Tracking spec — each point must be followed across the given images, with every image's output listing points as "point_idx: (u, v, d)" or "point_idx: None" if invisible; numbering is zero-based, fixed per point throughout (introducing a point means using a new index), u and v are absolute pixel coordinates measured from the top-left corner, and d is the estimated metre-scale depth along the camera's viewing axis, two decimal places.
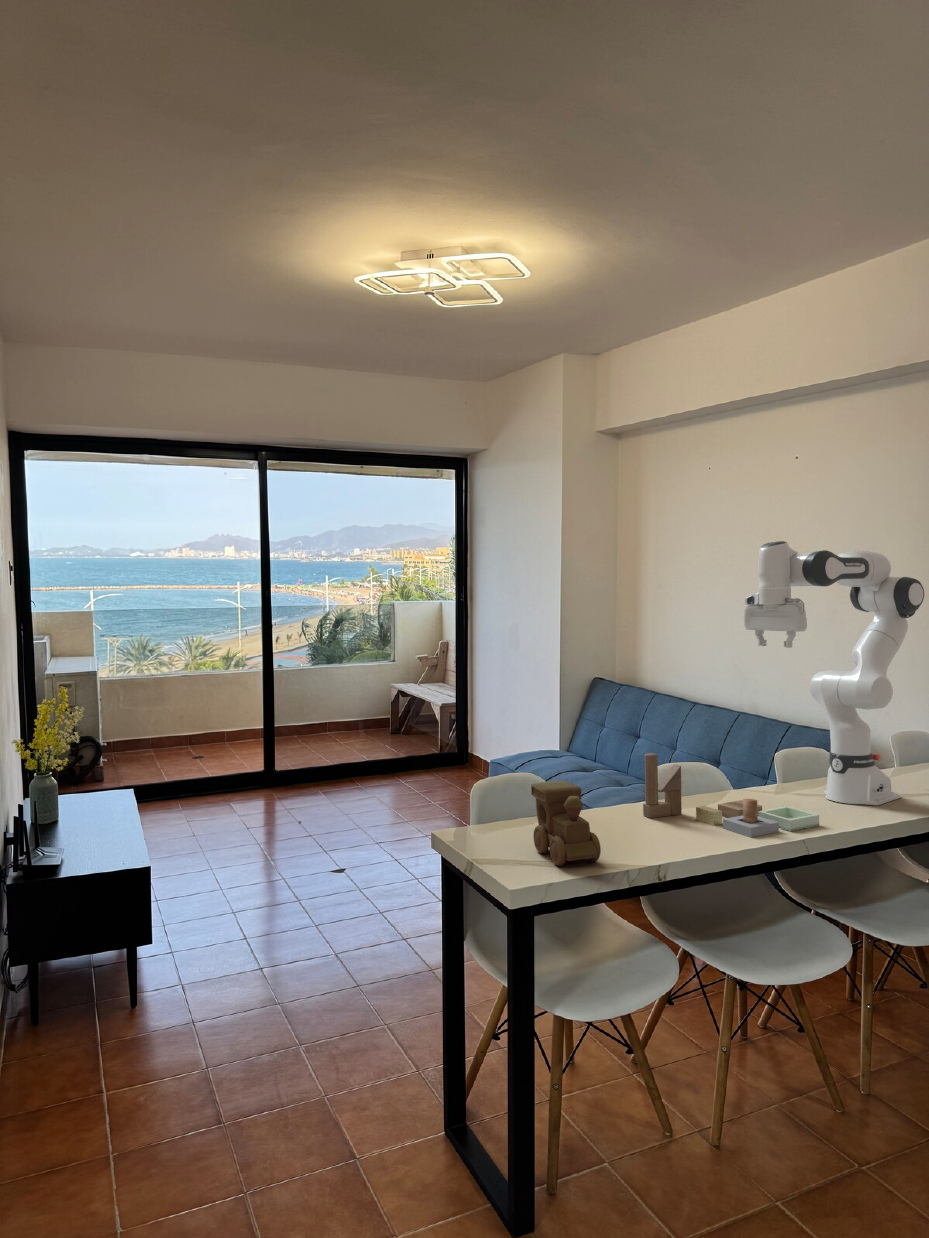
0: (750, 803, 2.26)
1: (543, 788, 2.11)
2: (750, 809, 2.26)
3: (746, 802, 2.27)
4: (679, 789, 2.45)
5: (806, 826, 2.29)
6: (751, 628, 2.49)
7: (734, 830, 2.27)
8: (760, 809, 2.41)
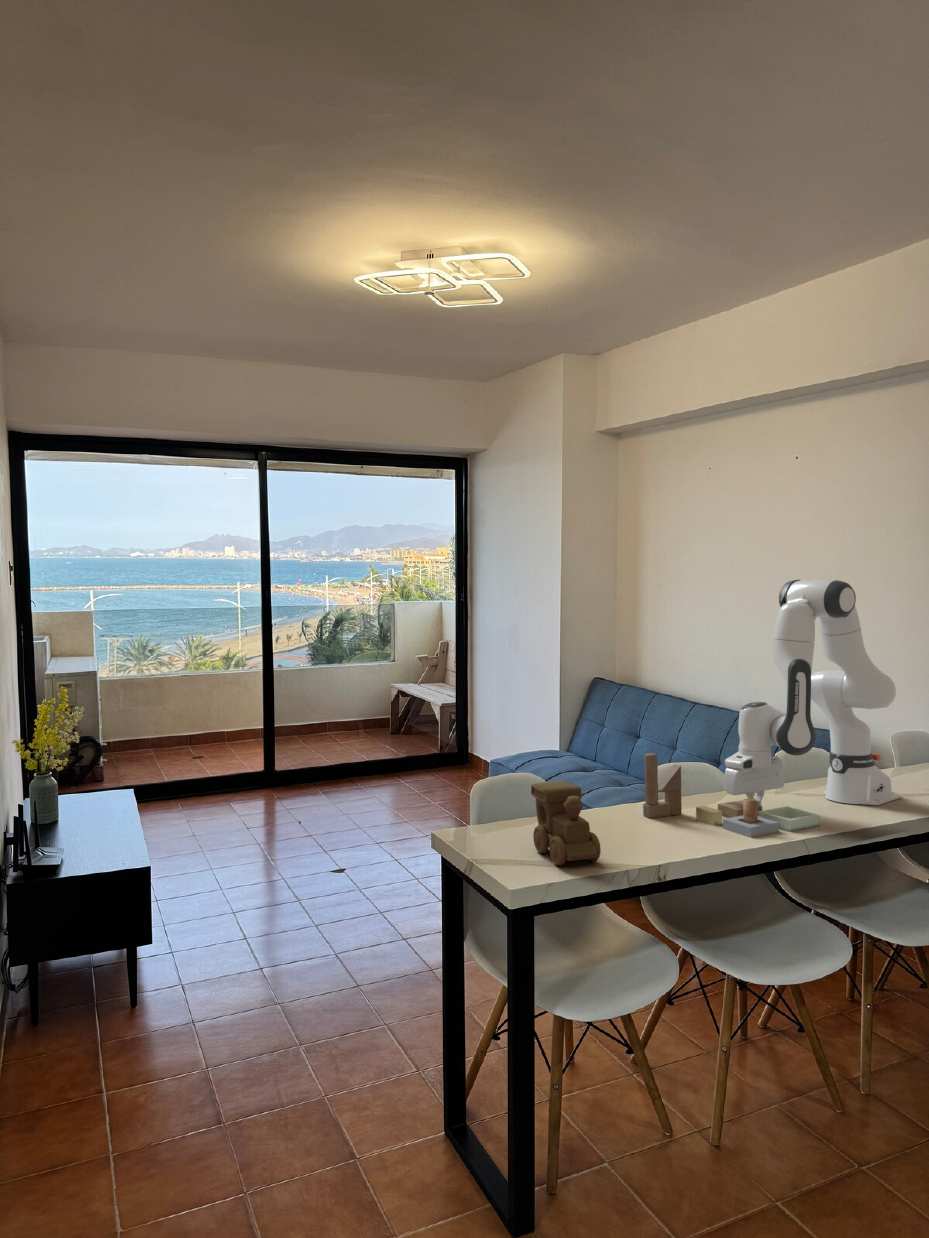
0: (750, 803, 2.26)
1: (543, 788, 2.11)
2: (750, 809, 2.26)
3: (746, 802, 2.27)
4: (679, 789, 2.45)
5: (806, 826, 2.29)
6: (740, 793, 2.41)
7: (734, 830, 2.27)
8: (760, 809, 2.40)
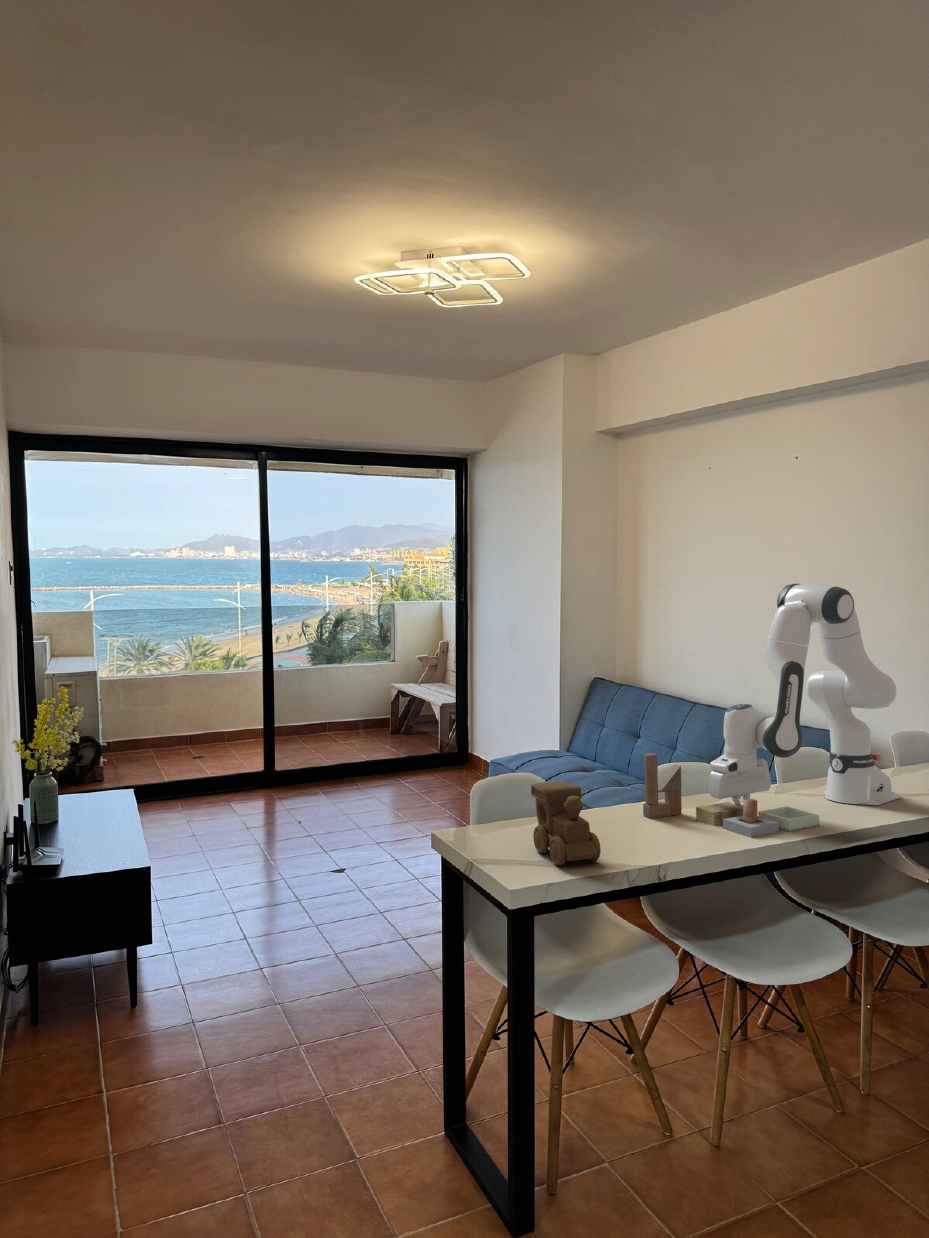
0: (750, 803, 2.26)
1: (543, 788, 2.11)
2: (750, 809, 2.26)
3: (746, 802, 2.27)
4: (679, 789, 2.45)
5: (806, 826, 2.29)
6: (726, 796, 2.38)
7: (734, 830, 2.27)
8: None
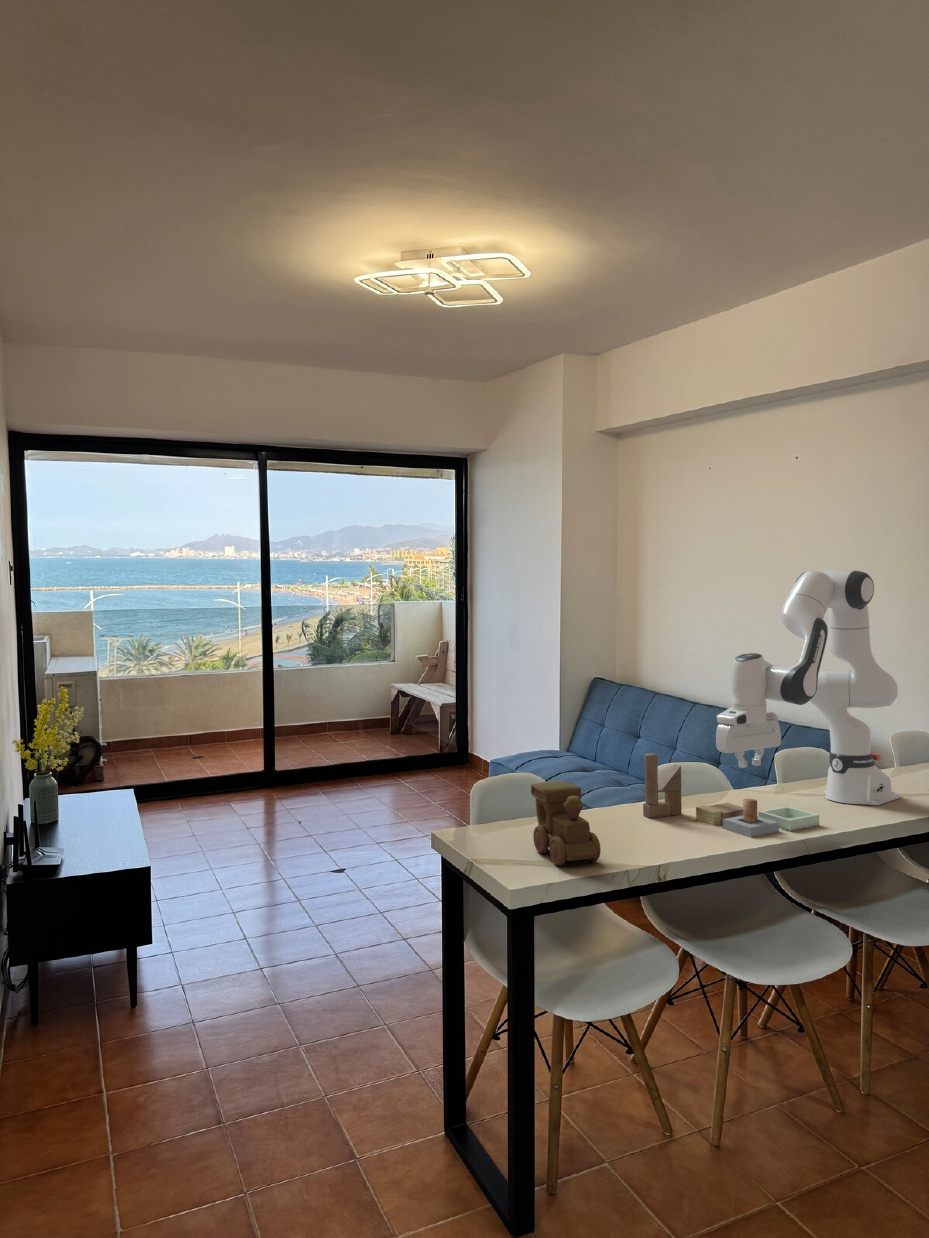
0: (750, 803, 2.26)
1: (543, 788, 2.11)
2: (750, 809, 2.26)
3: (746, 802, 2.27)
4: (679, 789, 2.45)
5: (806, 826, 2.29)
6: (734, 750, 2.23)
7: (734, 830, 2.27)
8: None
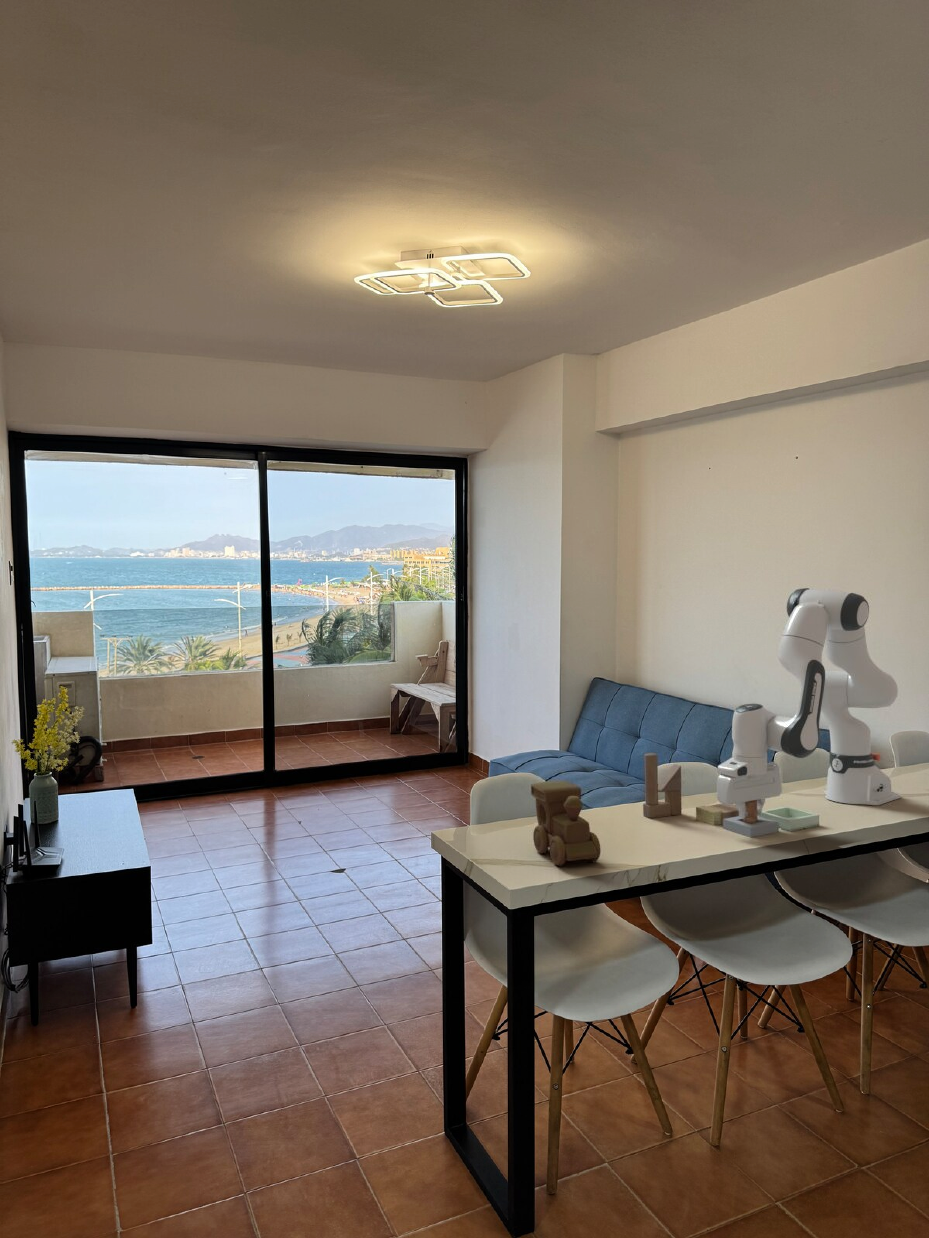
0: (750, 803, 2.26)
1: (543, 788, 2.11)
2: (750, 809, 2.26)
3: (746, 802, 2.27)
4: (679, 789, 2.45)
5: (806, 826, 2.29)
6: (734, 802, 2.23)
7: (734, 830, 2.27)
8: None
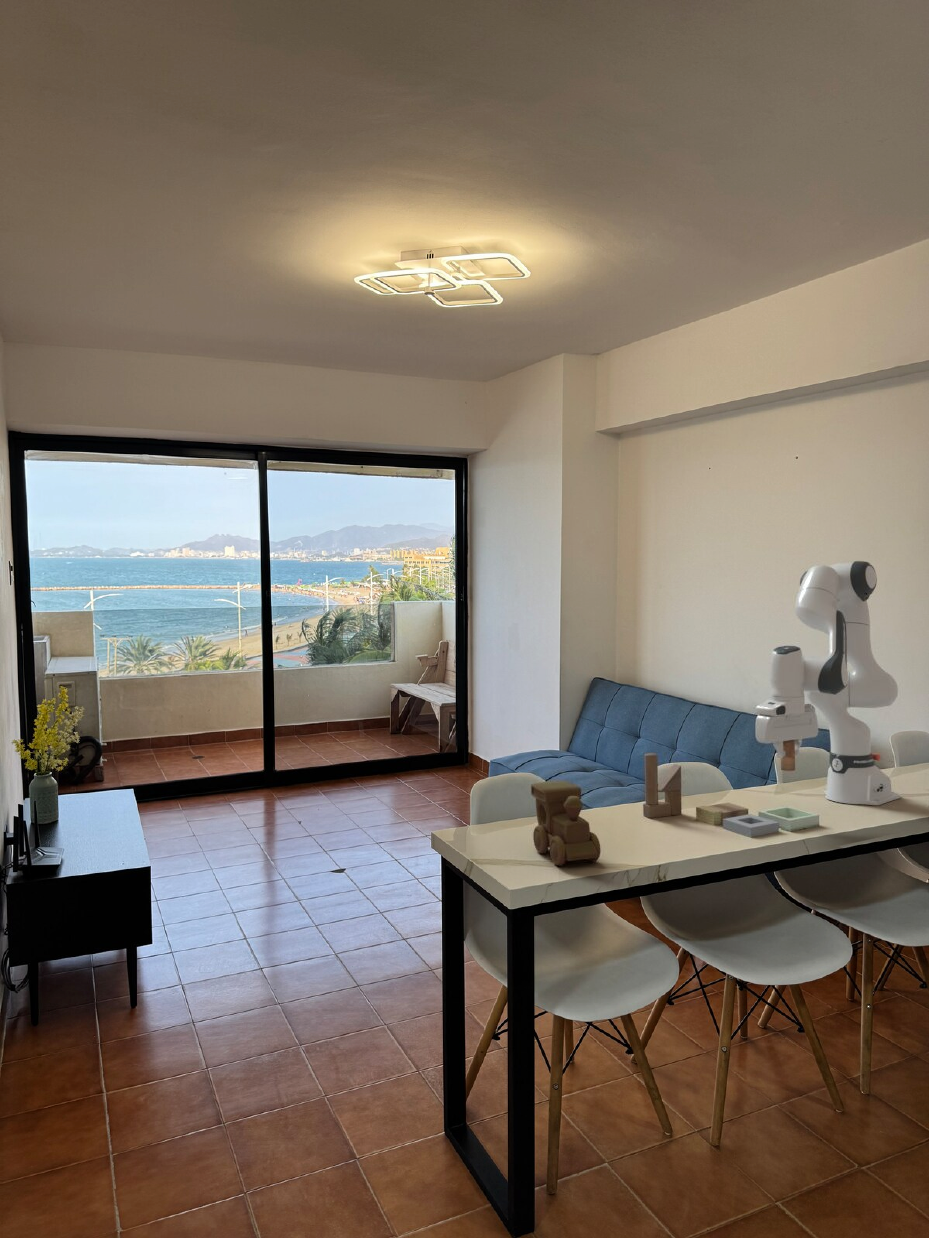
0: (788, 743, 2.31)
1: (543, 788, 2.11)
2: (788, 748, 2.31)
3: (784, 742, 2.32)
4: (679, 789, 2.45)
5: (806, 826, 2.29)
6: (773, 741, 2.28)
7: (734, 830, 2.27)
8: (746, 812, 2.38)
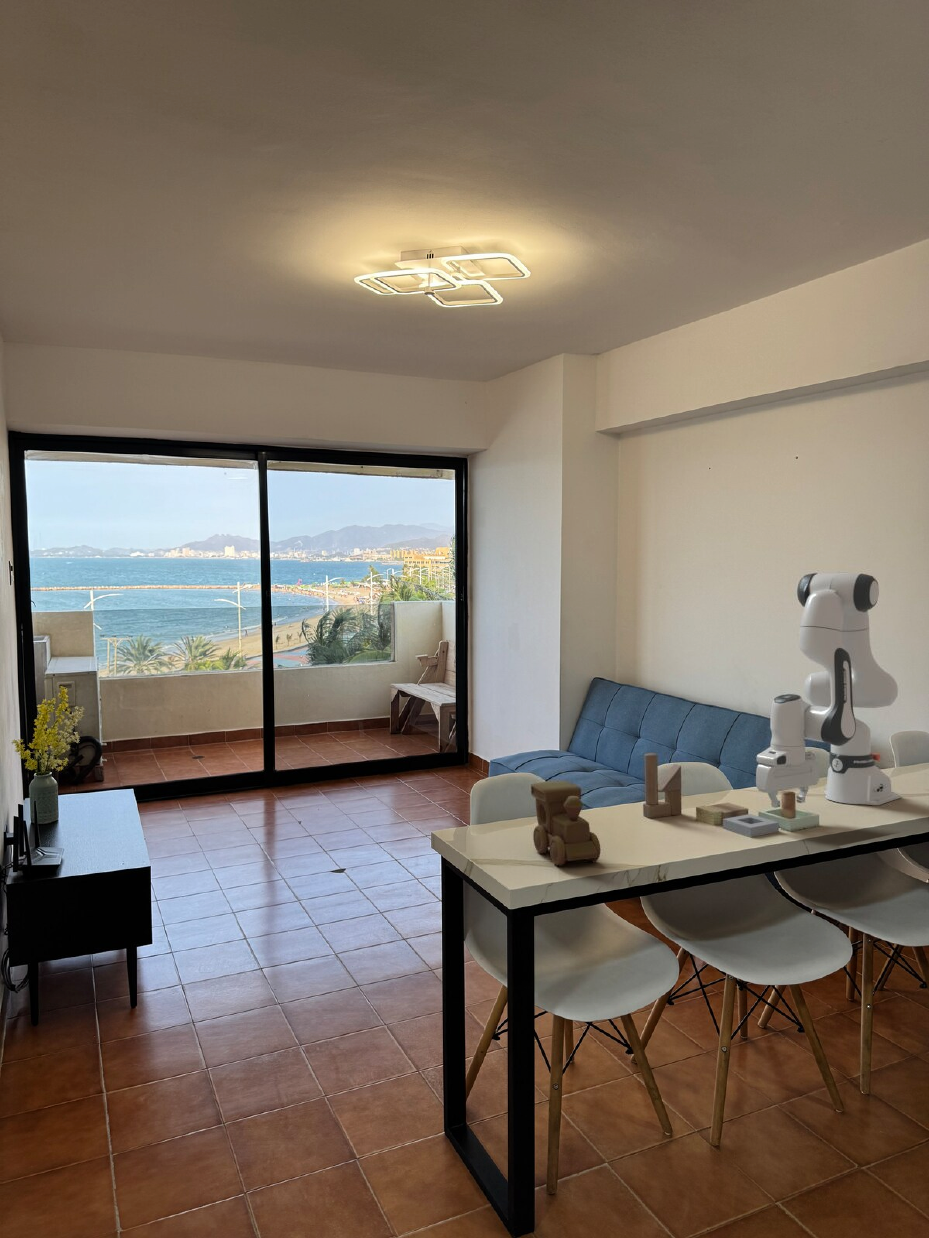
0: (788, 795, 2.31)
1: (543, 788, 2.11)
2: (789, 801, 2.31)
3: (784, 794, 2.32)
4: (679, 789, 2.45)
5: (806, 826, 2.29)
6: (774, 790, 2.28)
7: (734, 830, 2.27)
8: (746, 812, 2.38)
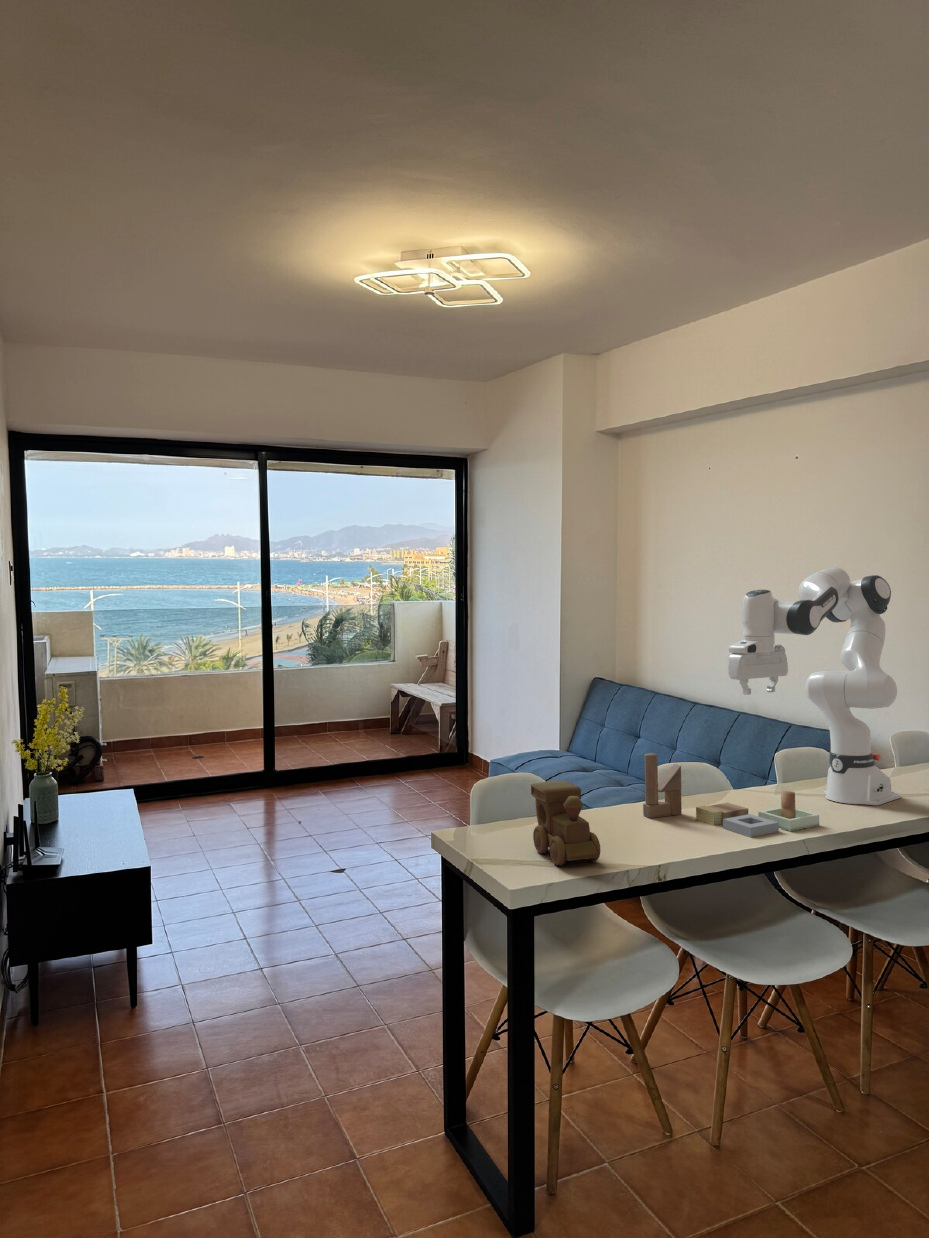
0: (788, 795, 2.31)
1: (543, 788, 2.11)
2: (788, 801, 2.31)
3: (784, 794, 2.32)
4: (679, 789, 2.45)
5: (806, 826, 2.29)
6: (744, 677, 2.43)
7: (734, 830, 2.27)
8: (746, 812, 2.38)
